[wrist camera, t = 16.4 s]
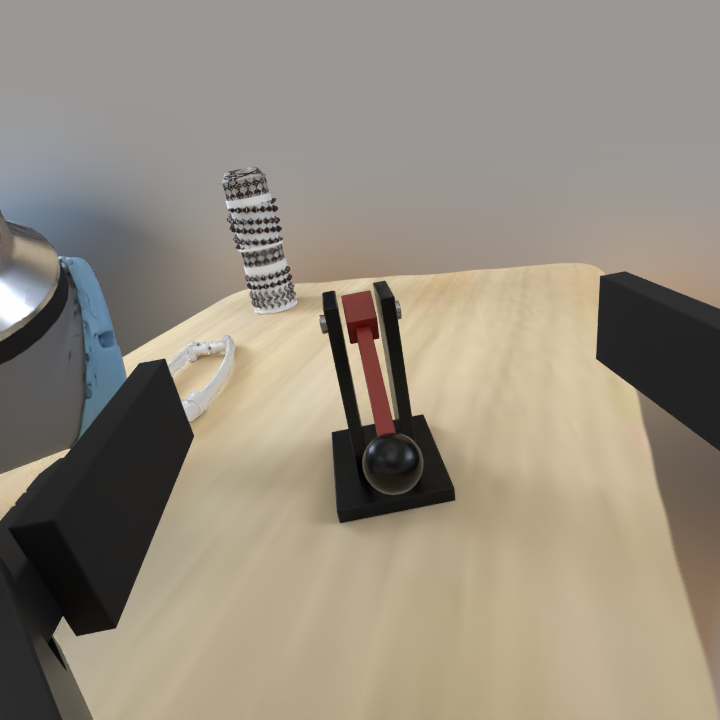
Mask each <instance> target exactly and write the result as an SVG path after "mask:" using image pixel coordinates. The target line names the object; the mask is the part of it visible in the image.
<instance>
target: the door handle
mask: <svg viewBox="0 0 720 720" xmlns="http://www.w3.org/2000/svg"><path fill="white" fill-rule="evenodd" d="M210 345H211V347H210ZM210 345H209V343H208V342H205V343H202V344H201V342H194V341H191V342H190V343H189V344H187V345H186V346H185V347H184V348H183V349H182V351H181V352H180V353H179V354H178V355H176V356H175V357H174V358H173V359H172V360H171V361H170V362H169V363H168V364H167V365H168V368H169V370H170V373H171V376H172V378H173V377H174V376H175V374H176V373H177V372H178V371H179V370H180V369H181V368H182V367H183V366H184V365H185V364H186V363H187V362H188V361H189V362H192V361H196V360H197V359H198V357H199V355H203V354H204V355H210V354H211V350H212V352H213V354H216V353H219V352H220V351H226V355H225V358H224V360H223V363H222V365H221V366H220V368H219V370H218V371H217V373H216V374H215V375H214V377H213V378H212V379H211V381H210V382H209V383H208V384H207V385H206V386H205V388H204V389H203V390H202V391H201V392H200V391H197V392H192V393H190V395H189V397H188V398H187V400H181V402H182V405H183V408H184V410H185V413H186V416H187V418H188V421H189V422H191V421H193V420H194V419H197V418H198V417H199V416H200V415H201V414H202V413H203V412H204V411H205V410H206V409H207V408H208V406H209V403H210V402H211V401H212V400H213V399H214V397H215V396H216V395H217V393H218V392H219V391H220V389H221V388H222V386H223V385H224V383H225V381H226V380H227V378H228V376H229V374H230V371H231V368H232V366H233V361H234V353H235V351H236V345H235V343H234V340H233V339H232V338H231V337H230V336H228V335H224V337H223V338H222V341H211V344H210Z"/></svg>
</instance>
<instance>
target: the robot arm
mask: <svg viewBox="0 0 720 720" xmlns="http://www.w3.org/2000/svg"><path fill="white" fill-rule="evenodd" d="M114 335H115V333H114V330H113V327H112V322H111V318H110V314H109V311H108V308H107V305H106V302H105V300H104V297H103V294H102V291H101V289H100V286H99V284H98V281H97V279H96V277H95V275H94V273H93V271H92V269H91V267H90V266H89V264H88V263H87V262H86V261H85V260H83V259H81V258H68V257H59V258H58V256H57V253H56V252H55V250H54V248H53V246H52V245H51V244H50V243H49V242H48V240H47V239H46V238H45V237H43V236H42V235H41V234H40V233H38V232H36V231H35V230H33V229H32V228H30V227H27V226H25V225H23V224H20V223H17V222H13V221H10V220H7V219H4V217H3V215H2V213H1V211H0V474H2V473H5V472H7V471H10V470H13V469H15V468H18V467H21V466H23V465H26V464H29V463H31V462H34V461H37V460H39V459H42V458H44V457H47V456H50V455H52V454H55V453H58V452H60V451H63V450H66V449H71V450H70V451H69V452H68V454H67V455H66V456H65V457H64V458H60V459H58V460H57V461H56V462H54V463H53V464H52V465H51V466H49V467H48V468H47V469H45V470H44V471H43V472H41V473H40V474H39V475H38V476H37V478H36V479H35V480H34V481H33V482H32V484H31V485H30V486H29V487H28V488H27V490H26V491H27V492H26V493H23V494H22V496H21V497H20V498H19V499H18V500H17V502H16V503H15V504H16V506H13V507H12V508H11V509H10V510H9V511H8V512H7V514H6V515H5V516H4V517H3V518H2V520H1V521H0V720H93V718H92V716H91V713H90V711H89V709H88V707H87V705H86V702H85V700H84V698H83V696H82V694H81V691H80V689H79V687H78V685H77V683H76V680H75V678H74V676H73V674H72V672H71V669H70V667H69V665H68V663H67V661H66V658H65V656H64V654H63V652H62V650H61V647H60V646H59V644H58V643H57V641H56V640H55V638H54V637H53V633H54V631H55V629H56V628H57V626H58V624H59V622H60V620H61V618H62V616H64V618H65V619H66V621H67V622H68V624H69V626H70V627H71V629H72V630H73V632H74V633H75V635H76V636H80V635H85V634H90V633H95V632H100V631H105V630H110V629H115V628H116V627H117V624H118V622H119V620H120V617H121V615H122V612H123V610H124V607H125V605H126V602H127V600H128V597H129V595H130V592H131V590H132V588H133V585H134V583H135V580H136V578H137V575H138V573H139V570H140V568H141V565H142V563H143V561H144V558H145V556H146V553H147V551H148V548H149V546H150V543H151V541H152V538H153V536H154V534H155V531H156V529H157V526H158V524H159V521H160V519H161V516H162V514H163V511H164V509H165V506H166V504H167V502H168V499H169V497H170V494H171V492H172V489H173V487H174V484H175V482H176V479H177V477H178V475H179V472H180V470H181V467H182V465H183V462H184V460H185V457H186V455H187V452H188V450H189V448H190V445H191V443H192V440H193V438H194V434H193V432H192V429H191V426H190V424H189V421H188V418H187V416H186V413H185V410H184V408H183V405H182V402H181V400H180V397H179V394H178V392H177V389H176V386H175V384H174V381H173V378H172V376H171V373H170V370H169V368H168V365H167V362H166V360H165V359H160V360H155V361H150V362H144V363H139V364H138V366H137V367H136V368H135V369H134V371H133V372H132V373H131V374H130V376H129V377H128V378H127V376H126V371H125V367H124V363H123V359H122V356H121V352H120V348H119V345H118V343H117V341H116V339H115V338H114ZM596 359H597V360H598V361H600V362H601V363H602V364H604V365H605V366H606V367H608V368H609V369H610V370H612V371H613V372H614V373H616V374H617V375H618V376H620V377H621V378H622V379H624V380H625V381H626V382H628V383H629V384H631V385H632V386H633V387H635V388H636V389H637V390H639V391H640V392H641V393H643V394H644V395H645V396H647V397H648V398H650V399H651V400H652V401H653V402H655V403H656V404H657V405H659V406H660V407H661V408H663V409H664V410H666V411H667V412H668V413H669V414H671V415H673V417H675V418H676V419H678V420H679V421H680V422H682V423H683V424H684V425H686V426H687V427H688V428H690V429H691V430H692V431H694V432H695V433H696V434H698V435H699V436H700V437H702V438H703V439H704V440H706V441H707V442H708V443H710V444H711V445H712V446H714V447H715V448H717V449H718V450H719V451H720V309H719V308H716V307H714V306H711V305H708V304H706V303H703V302H701V301H698V300H696V299H693V298H691V297H688V296H686V295H683V294H681V293H678V292H676V291H673V290H671V289H668V288H666V287H663V286H661V285H658V284H656V283H653V282H651V281H648V280H646V279H643V278H640V277H638V276H635V275H633V274H630V273H628V272H620V273H614V274H609V275H604V276H600V290H599V310H598V331H597V351H596Z"/></svg>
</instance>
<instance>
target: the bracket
mask: <svg viewBox="0 0 720 720" xmlns="http://www.w3.org/2000/svg"><path fill="white" fill-rule="evenodd" d="M373 286H374V293H375V299H376V305H377V311H378V317H379V323H380V329H381V335H382V342H383V348H384V354H385V360H386V366H387V372H388V378H389V384H390V391H391V397H392V403H393V409H394V415H395V420H393V424H394V428H395V432H396V433H400V434H403V435H405V436H408V437H409V438H411V439H412V440H413V441H414V442H415V443H416V444H417V446H418V447H419V449H420V451H421V453H422V457H423V471H422V475H421V477H420V479H419V481H418V482H417V484H416V485H415V486H414V487H413V488H411V489H410V490H409V491H407V492H405V493H402V494H397V495H390V494H385V493H382V492H380V491H378V490H376V489H375V488H374V487H373V486H372V485H371V484H370V483H369V482H368V481H367V479H366V477H365V474H364V471H363V465H362V461H363V455H364V452H365V450H366V448H367V446H368V445H369V443H370V442H371V441H372V440H373V439H375V438H376V437H378V436H377V432H376V427H375V424H372V425H367V426H362V425H361V420H360V415H359V410H358V405H357V399H356V394H355V389H354V384H353V379H352V374H351V369H350V364H349V359H348V354H347V349H346V344H345V339H344V334H343V329H342V324H341V319H340V314H339V309H338V304H337V299H336V294H335V291H329V292H324V293H322V297H323V311H324V315H320V316H319V320H320V325H321V330H322V333H323V334H326V333H328V334H329V339H330V344H331V349H332V353H333V358H334V363H335V367H336V372H337V377H338V381H339V386H340V391H341V395H342V400H343V405H344V410H345V414H346V419H347V424H348V428H349V429H346V430H341V431H336V432H332V445H333V460H334V475H335V489H336V504H337V513H338V517H339V521H340V523H342V522H347V521H352V520H357V519H362V518H367V517H372V516H377V515H382V514H387V513H392V512H397V511H402V510H407V509H412V508H417V507H422V506H427V505H432V504H437V503H442V502H447V501H452V500H455V492H454V486H453V484H452V482H451V479H450V477H449V475H448V472H447V470H446V467H445V465H444V463H443V460H442V458H441V456H440V453H439V451H438V448H437V446H436V444H435V441H434V439H433V437H432V434H431V432H430V429H429V427H428V425H427V422H426V420H425V418H424V415H417V416H412V414H411V407H410V400H409V393H408V386H407V380H406V373H405V366H404V359H403V352H402V345H401V338H400V332H399V325H398V319H401V318H402V315H401V308H400V304H399V301H395V297H394V295H393V293H392V292H391V290H390V288H389V286H388V285H387V283H386V281H381V282H376V283H373Z"/></svg>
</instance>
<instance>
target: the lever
mask: <svg viewBox="0 0 720 720" xmlns="http://www.w3.org/2000/svg"><path fill="white" fill-rule="evenodd" d="M341 298H342V303H343V308H344V313H345V318H346V323H347V328H348V334H349V339H350V343H351V344H353V343H358V345H359V350H360V355H361V360H362V364H363V369H364V374H365V379H366V384H367V388H368V393H369V398H370V403H371V408H372V412H373V417H374V422H375V427H376V432H377V436H378V437H376V438H375V439H373V440H372V441H371V442H370V443H369V445H368V446H367V448H366V450H365V452H364V455H363V461H362V465H363V471H364V474H365V477H366V479H367V481H368V482H369V483H370V484H371V485H372V486H373V487H374V488H375V489H376V490H378V491H380V492H382V493H385V494H390V495H397V494H402V493H405V492H407V491H409V490H410V489H411V488H413V487H414V486H415V485H416V484H417V482H418V481H419V479H420V477H421V475H422V471H423V457H422V453H421V451H420V449H419V447H418V446H417V444H416V443H415V442H414V441H413V440H412V439H411V438H409V437H408V436H405V435H403V434H400V433H396V432H395V428H394V424H393V420H392V415H391V411H390V407H389V403H388V399H387V394H386V390H385V386H384V382H383V377H382V373H381V369H380V365H379V360H378V356H377V352H376V348H375V344H374V339H379V331H378V323H377V316H376V312H375V308H374V304H373V300H372V296H371V292H370V291H364V292H359V293H354V294H349V295H344V296H341Z"/></svg>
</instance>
